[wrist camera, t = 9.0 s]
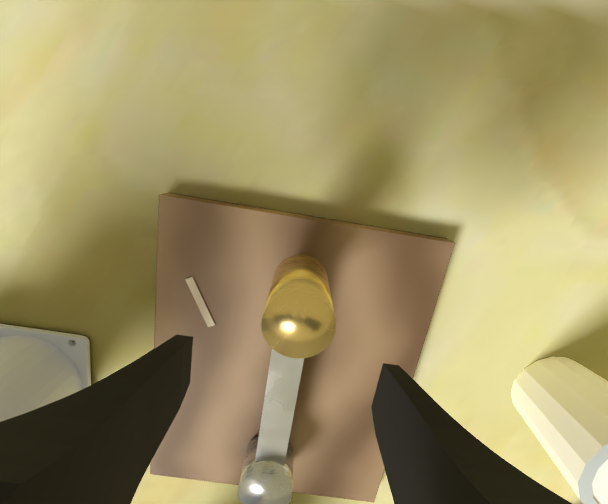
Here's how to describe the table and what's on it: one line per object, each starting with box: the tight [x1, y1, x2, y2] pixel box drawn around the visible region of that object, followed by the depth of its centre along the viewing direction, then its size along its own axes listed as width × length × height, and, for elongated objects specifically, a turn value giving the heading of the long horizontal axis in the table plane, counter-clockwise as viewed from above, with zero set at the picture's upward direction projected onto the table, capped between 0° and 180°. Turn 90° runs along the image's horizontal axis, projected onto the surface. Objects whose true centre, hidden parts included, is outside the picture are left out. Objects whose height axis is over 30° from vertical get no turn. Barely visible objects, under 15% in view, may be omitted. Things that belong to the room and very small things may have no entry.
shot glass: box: [511, 356, 608, 504], centre depth 20 cm, size 7×7×7 cm
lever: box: [238, 254, 336, 504], centre depth 18 cm, size 4×18×7 cm, turn 171°
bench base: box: [150, 193, 455, 502], centre depth 22 cm, size 18×22×1 cm
